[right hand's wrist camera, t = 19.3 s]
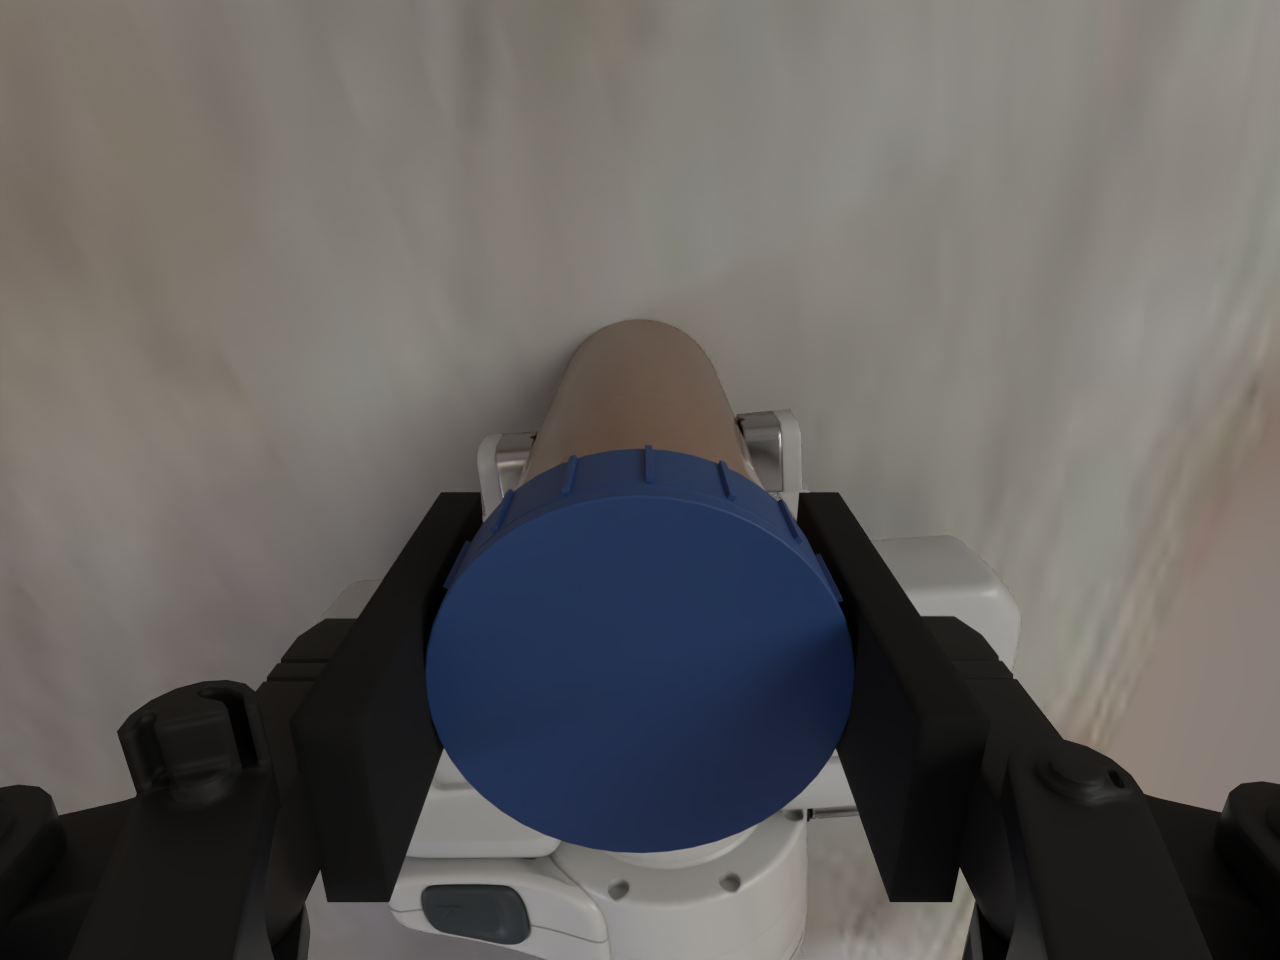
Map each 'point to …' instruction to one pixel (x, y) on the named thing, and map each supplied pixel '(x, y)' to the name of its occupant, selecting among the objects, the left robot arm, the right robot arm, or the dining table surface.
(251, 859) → the right robot arm
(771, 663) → the lid
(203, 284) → the dining table surface
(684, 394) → the jar
